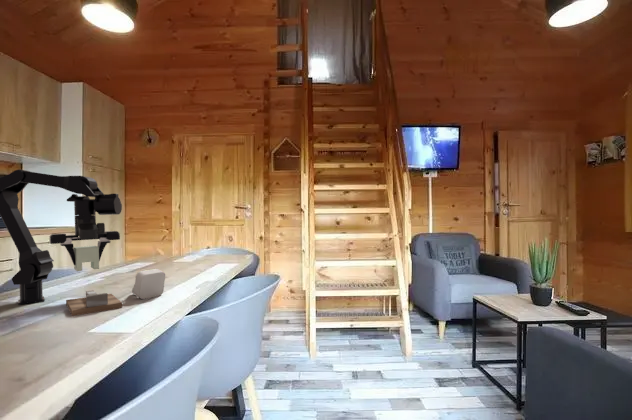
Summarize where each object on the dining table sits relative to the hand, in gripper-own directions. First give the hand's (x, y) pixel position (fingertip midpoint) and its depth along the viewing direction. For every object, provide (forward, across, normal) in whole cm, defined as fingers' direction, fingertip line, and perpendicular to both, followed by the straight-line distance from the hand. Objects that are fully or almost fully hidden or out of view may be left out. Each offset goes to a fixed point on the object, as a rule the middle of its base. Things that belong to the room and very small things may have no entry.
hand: (86, 264), depth 118 cm
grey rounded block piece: (+12, +15, -9) cm, 21 cm away
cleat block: (+2, 0, 0) cm, 2 cm away
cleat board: (+11, 0, -13) cm, 17 cm away
